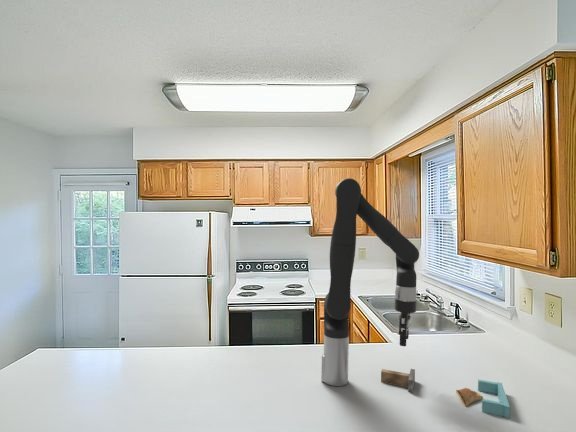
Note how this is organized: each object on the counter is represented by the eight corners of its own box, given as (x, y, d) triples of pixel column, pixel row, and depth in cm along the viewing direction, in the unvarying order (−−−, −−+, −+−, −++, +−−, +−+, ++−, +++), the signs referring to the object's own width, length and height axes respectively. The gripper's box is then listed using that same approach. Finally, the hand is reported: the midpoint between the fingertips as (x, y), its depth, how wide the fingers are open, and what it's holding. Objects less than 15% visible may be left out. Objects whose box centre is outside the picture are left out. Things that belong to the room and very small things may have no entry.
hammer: (379, 386, 133) (379, 374, 133) (383, 375, 142) (383, 363, 142) (412, 393, 129) (412, 380, 129) (414, 381, 138) (414, 369, 138)
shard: (465, 408, 120) (465, 403, 120) (444, 398, 126) (444, 393, 126) (483, 400, 125) (484, 395, 125) (463, 390, 132) (463, 385, 132)
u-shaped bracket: (482, 412, 116) (482, 401, 116) (477, 388, 133) (478, 378, 133) (509, 418, 113) (509, 406, 113) (501, 392, 130) (501, 382, 130)
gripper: (397, 293, 142) (395, 334, 143) (392, 300, 129) (390, 346, 129) (417, 295, 140) (416, 338, 140) (414, 303, 126) (413, 350, 126)
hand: (404, 342), depth 135 cm, fingers open, 8 cm apart
